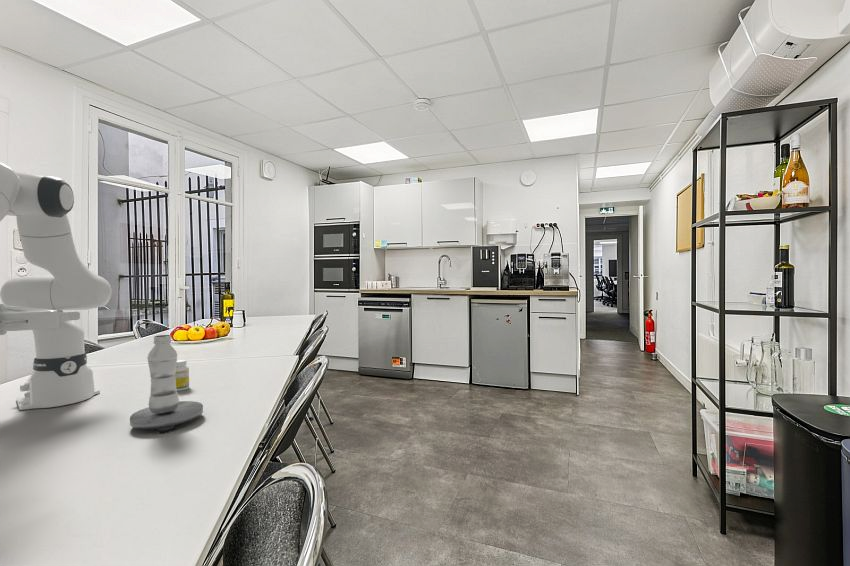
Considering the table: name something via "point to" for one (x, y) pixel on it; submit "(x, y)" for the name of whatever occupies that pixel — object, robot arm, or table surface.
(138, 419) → the base
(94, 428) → the table surface
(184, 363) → the supplement bottle
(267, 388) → the table surface
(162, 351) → the plastic bottle
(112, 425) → the table surface
